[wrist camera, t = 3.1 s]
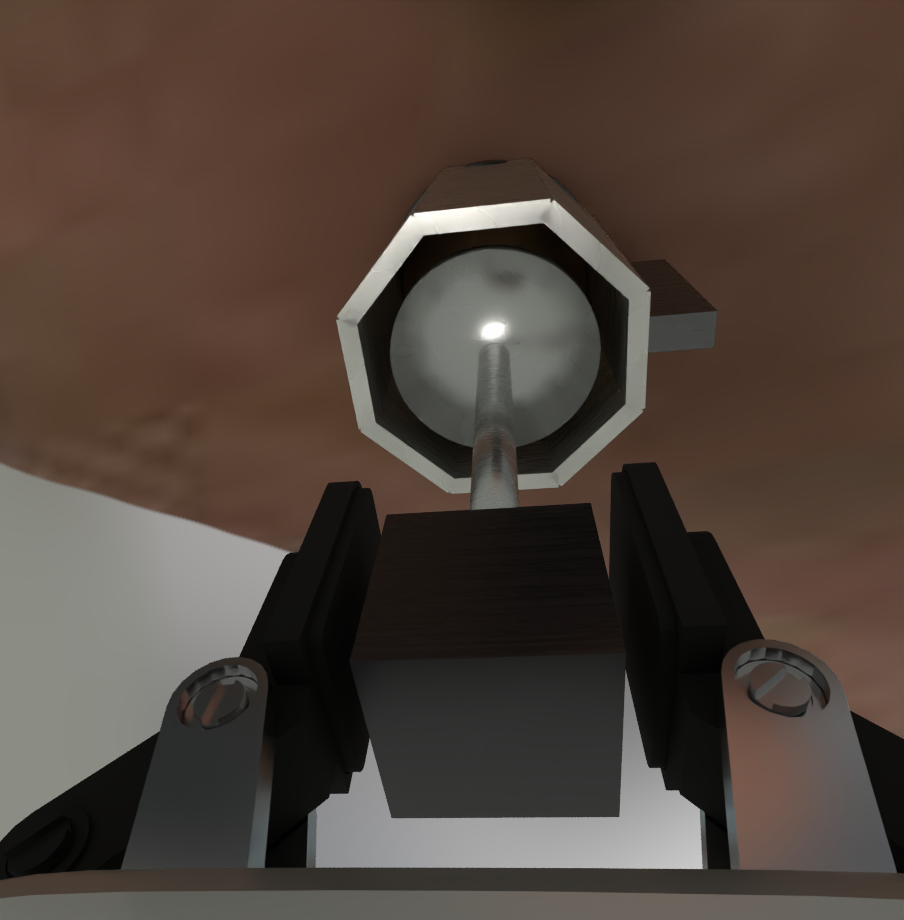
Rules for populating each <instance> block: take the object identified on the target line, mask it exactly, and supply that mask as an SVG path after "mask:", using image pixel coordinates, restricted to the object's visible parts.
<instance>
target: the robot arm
mask: <svg viewBox="0 0 904 920" xmlns="http://www.w3.org/2000/svg"><path fill="white" fill-rule="evenodd" d="M380 539H381V533H380V529H379V524H378V519H377V514H376V509H375V504H374V499H373V495H372V491H371V489H370V488H362V486H361V484H360V482H359V481H349V482H334V483H328V485H327V487H326V489H325V491H324V494H323V496H322V498H321V501H320V503H319V505H318V508H317V510H316V512H315V515H314V517H313V520H312V522H311V524H310V527H309V529H308V531H307V534H306V536H305V538H304V541H303V543H302V545H301V548H300V550H299V552H296V553H289V554H287V555H286V556H285V558H284V559H283V561H282V563H281V565H280V567H279V570H278V572H277V574H276V576H275V579H274V581H273V583H272V585H271V588H270V590H269V592H268V594H267V597H266V599H265V601H264V603H263V605H262V608H261V610H260V612H259V614H258V616H257V619H256V621H255V623H254V625H253V627H252V630H251V632H250V634H249V636H248V639H247V641H246V643H245V645H244V647H243V650H242V652H241V654H240V656H239V657H233V658H224V659H221V660H218V661H214V662H211V663H209V664H207V665H205V666H203V667H201V668H200V669H198V670H196V671H195V672H193V673H192V674H191V675H190V676H188V677H187V678H186V679H185V680H183V681H182V682H181V684H180V685H179V686H178V687H177V689H176V690H175V691H174V692H173V694H172V696H171V698H170V700H169V703H168V705H167V707H166V711H165V714H164V717H163V721H162V725H161V728H160V731H159V732H158V733H156V734H155V735H153V736H152V737H150V738H148V739H147V740H145V741H144V742H142V743H141V744H139V745H137V746H136V747H134V748H133V749H131V750H130V751H128V752H127V753H125V754H123V755H122V756H120V757H119V758H117V759H116V760H114V761H113V762H111V763H109V764H108V765H106V766H105V767H103V768H102V769H100V770H99V771H97V772H96V773H94V774H92V775H91V776H89V777H87V778H86V779H84V780H83V781H81V782H80V783H78V784H77V785H75V786H73V787H72V788H70V789H69V790H67V791H66V792H64V793H62V794H61V795H59V796H58V797H56V798H55V799H53V800H52V801H50V802H49V803H47V804H45V805H44V806H42V807H41V808H39V809H37V810H36V811H34V812H33V813H31V814H30V815H29V816H28V817H26V818H25V819H24V820H23V821H21V822H20V823H18V824H17V825H16V826H15V827H14V828H13V829H12V830H11V831H10V832H9V833H8V834H7V835H6V836H5V837H4V838H3V839H2V840H1V842H0V920H904V739H902V738H900V737H899V736H897V735H895V734H893V733H891V732H889V731H887V730H885V729H884V728H882V727H880V726H878V725H876V724H874V723H872V722H870V721H869V720H867V719H865V718H863V717H861V716H859V715H857V714H855V713H854V712H852V711H850V710H849V706H848V703H847V699H846V696H845V692H844V689H843V687H842V685H841V683H840V681H839V679H838V677H837V675H836V674H835V673H834V672H833V671H832V670H831V669H830V667H829V666H828V665H827V664H826V663H825V662H824V661H822V660H821V659H819V658H818V657H816V656H815V655H813V654H812V653H811V652H809V651H807V650H805V649H802V648H800V647H798V646H795V645H793V644H790V643H786V642H781V641H777V640H765V639H764V637H763V635H762V633H761V631H760V629H759V627H758V625H757V623H756V621H755V619H754V617H753V615H752V613H751V611H750V609H749V607H748V605H747V603H746V601H745V599H744V597H743V595H742V593H741V591H740V589H739V587H738V585H737V583H736V581H735V579H734V577H733V575H732V573H731V571H730V569H729V566H728V564H727V562H726V560H725V558H724V556H723V554H722V552H721V550H720V548H719V546H718V544H717V542H716V540H715V538H714V537H713V535H712V534H711V533H710V532H708V531H704V532H686V529H685V527H684V525H683V522H682V520H681V518H680V516H679V513H678V511H677V509H676V507H675V504H674V502H673V500H672V497H671V495H670V493H669V491H668V488H667V486H666V484H665V482H664V479H663V477H662V475H661V472H660V470H659V468H658V466H657V464H656V463H655V462H650V463H634V464H624V465H623V468H622V472H617V473H612V476H611V515H610V562H609V583H610V587H611V591H612V596H613V600H614V604H615V608H616V613H617V617H618V621H619V625H620V630H621V634H622V638H623V642H624V646H625V651H626V667H625V669H626V673H627V677H628V681H629V686H630V690H631V695H632V699H633V703H634V708H635V712H636V717H637V721H638V725H639V730H640V734H641V738H642V742H643V747H644V752H645V756H646V760H647V764H648V766H649V767H650V768H661V771H662V776H663V779H664V783H665V787H666V790H679V792H680V794H681V795H682V796H683V797H685V798H686V799H688V800H689V801H690V802H691V803H693V804H694V805H695V806H697V807H698V808H700V822H701V842H702V864H703V869H609V868H608V869H607V868H605V869H604V868H316V867H315V866H316V863H315V862H316V826H317V824H316V823H317V821H316V820H317V814H316V808H317V807H318V806H319V805H320V804H322V803H323V802H324V801H325V800H326V799H328V798H329V795H330V794H341V793H342V794H347V793H349V788H350V783H351V778H352V773H353V772H361V771H362V770H363V767H364V764H365V759H366V754H367V748H368V743H369V738H370V736H369V733H368V729H367V725H366V722H365V718H364V714H363V711H362V707H361V703H360V699H359V696H358V692H357V688H356V685H355V681H354V677H353V674H352V670H351V666H350V663H349V661H350V657H351V653H352V650H353V646H354V642H355V638H356V634H357V630H358V626H359V622H360V618H361V614H362V610H363V606H364V602H365V598H366V594H367V590H368V586H369V583H370V579H371V575H372V571H373V567H374V563H375V559H376V555H377V551H378V547H379V543H380Z"/></svg>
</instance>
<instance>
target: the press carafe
mask: <svg viewBox="0 0 904 920" xmlns="http://www.w3.org/2000/svg"><path fill="white" fill-rule="evenodd" d="M497 244H502V245H511V246H517V247H521V248H526V249H529V250H532V251H534V252H537V253H539V254H542V255H544V256H545V257H547V258H549V259H551V260H552V261H554V262H555V263H557V264H558V265H559V266H561V267H562V268H563V269H565V270H566V271H567V272H568V273H569V274H570V275H571V276H572V277H573V278H574V280H575V281H576V282H577V284H578V285H579V286H580V288H581V289H582V290H583V292H584V294H585V296H586V298H587V300H588V302H589V304H590V306H591V308H592V310H593V313H594V316H595V318H596V321H597V325H598V330H599V335H600V347H601V351H600V363H599V367H598V372H597V376H596V379H595V381H594V384H593V387H592V389H591V391H590V393H589V395H588V397H587V398H586V400H585V401H584V403H583V404H582V406H581V407H580V408H579V410H578V411H577V412H576V413H575V414H574V415H573V416H572V417H571V419H570V420H568V421H567V422H566V423H565V424H564V425H563V426H561V427H560V428H559V429H557V430H556V431H554V432H553V433H551V434H550V435H548V436H546V437H544V438H542V439H540V440H537V441H535V442H532V443H529V444H527V445H523V446H518V447H516V461H517V477H518V490H522V489H539V488H556V487H559V485H561V486H562V485H563V484H564V483H566V482H567V481H568V480H569V479H570V478H571V477H572V476H573V475H574V474H575V473H576V472H578V471H579V470H580V469H581V468H582V467H583V466H584V465H585V464H586V463H587V462H589V461H590V460H591V459H592V458H593V457H594V456H595V455H596V454H597V453H598V452H600V451H601V450H602V449H603V448H604V447H605V446H606V445H607V444H608V443H609V442H611V441H612V440H613V439H614V438H615V437H616V436H617V435H618V434H619V433H620V432H621V431H623V430H624V429H625V428H626V427H627V426H628V425H629V424H630V423H631V422H632V421H634V420H635V419H636V418H637V417H638V416H639V415H640V414H641V413H642V412H643V409H645V399H646V378H647V358H648V353H653V352H665V351H678V350H690V349H702V348H714V340H715V330H716V321H717V310H716V309H715V308H714V307H713V306H712V305H711V304H710V303H709V302H708V301H707V300H706V299H705V298H704V297H703V296H702V295H701V294H700V293H699V292H698V291H697V290H695V289H694V288H693V287H692V286H691V285H690V284H689V283H688V282H687V281H686V280H685V279H684V278H683V277H682V276H681V275H680V274H679V273H678V272H677V271H676V270H675V269H674V268H673V267H672V266H671V265H670V264H669V263H668V262H667V261H666V260H665V259H664V260H653V261H643V262H632V263H629V262H628V261H627V259H626V258H625V257H624V255H623V254H622V253H621V252H620V250H619V249H618V248H617V247H616V245H615V244H614V243H613V242H612V240H611V239H610V238H609V237H608V235H607V234H606V233H605V232H604V230H603V229H602V228H601V227H600V225H599V224H598V223H597V222H596V220H595V219H594V218H593V217H592V216H591V215H590V214H589V213H588V212H587V211H586V210H585V209H584V208H583V207H582V206H581V205H580V204H579V203H578V202H577V201H576V200H575V198H574V197H573V196H572V195H571V194H570V193H569V191H568V190H567V189H566V188H565V187H564V186H563V185H562V184H560V183H559V182H558V181H557V180H555V179H554V178H553V177H551V176H550V175H548V174H546V173H545V172H544V171H543V170H542V169H541V168H540V167H539V166H538V165H537V164H536V163H535V162H534V161H533V160H532V159H531V160H529V158H527V159H518V160H509V161H505V160H489V161H481V162H476V163H471V164H468V165H465V166H457V167H448V168H444V169H443V170H441V171H440V173H439V174H438V175H437V177H436V178H435V179H434V181H433V182H432V184H431V185H430V186H429V188H427V189H426V190H425V191H424V192H423V193H422V195H421V196H420V197H419V198H418V199H417V201H416V202H415V203H414V204H413V206H412V208H411V209H410V211H409V212H408V214H407V216H406V217H405V219H404V221H403V224H402V225H401V226H400V228H399V229H398V230H397V232H396V233H395V235H394V236H393V237H392V239H391V240H390V242H389V243H388V244H387V246H386V247H385V249H384V250H383V252H382V253H381V254H380V256H379V257H378V259H377V260H376V262H375V263H374V264H373V266H372V267H371V269H370V270H369V272H368V273H367V274H366V276H365V277H364V279H363V280H362V282H361V283H360V284H359V286H358V287H357V289H356V290H355V292H354V293H353V294H352V296H351V297H350V299H349V300H348V302H347V303H346V304H345V306H344V307H343V309H342V310H341V312H340V313H339V314H338V316H337V317H338V318H337V320H336V321H337V326H338V331H339V336H340V340H341V345H342V350H343V355H344V360H345V365H346V370H347V374H348V379H349V384H350V389H351V394H352V399H353V403H354V408H355V413H356V418H357V423H358V428H359V429H361V432H362V433H363V434H365V435H366V436H367V437H369V438H370V439H372V440H373V441H375V442H376V443H377V444H379V445H380V446H382V447H383V448H385V449H386V450H387V451H389V452H390V453H392V454H393V455H395V456H396V457H397V458H399V459H400V460H402V461H403V462H405V463H406V464H407V465H409V466H410V467H412V468H413V469H414V470H416V471H417V472H419V473H420V474H422V475H423V476H424V477H426V478H427V479H429V480H430V481H432V482H433V483H434V484H436V485H437V486H439V487H440V488H442V489H443V490H444V491H446V492H447V493H449V491H451V494H456V493H470V492H471V475H472V457H473V447H470V446H465V445H462V444H459V443H456V442H453V441H451V440H449V439H447V438H445V437H443V436H441V435H439V434H437V433H436V432H434V431H433V430H431V429H430V428H429V427H427V426H426V425H425V424H424V423H423V422H421V421H420V420H419V419H418V418H417V416H416V415H415V414H414V413H413V412H412V411H411V410H410V408H409V407H408V405H407V404H406V403H405V401H404V399H403V397H402V396H401V394H400V392H399V390H398V387H397V385H396V382H395V380H394V376H393V371H392V367H391V358H390V343H391V336H392V330H393V326H394V323H395V320H396V317H397V314H398V312H399V310H400V307H401V305H402V303H403V301H404V299H405V297H406V295H407V294H408V292H409V291H410V289H411V288H412V286H413V285H414V283H415V282H416V281H417V280H418V279H419V278H420V277H421V276H422V274H424V273H425V272H426V271H427V270H428V269H429V268H431V267H432V266H433V265H434V264H436V263H437V262H439V261H441V260H442V259H444V258H445V257H447V256H450V255H452V254H454V253H456V252H458V251H461V250H465V249H468V248H471V247H476V246H482V245H497Z"/></svg>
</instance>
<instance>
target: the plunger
mask: <svg viewBox="0 0 904 920" xmlns="http://www.w3.org/2000/svg"><path fill="white" fill-rule="evenodd" d="M600 351H601V347H600V335H599V330H598V325H597V321H596V318H595V316H594V313H593V310H592V308H591V306H590V304H589V302H588V300H587V298H586V296H585V294H584V292H583V290H582V289H581V288H580V286H579V285H578V284H577V282H576V281H575V280H574V278H573V277H572V276H571V275H570V274H569V273H568V272H567V271H566V270H565V269H563V268H562V267H561V266H559V265H558V264H557V263H555V262H554V261H552V260H551V259H549V258H547V257H545V256H544V255H542V254H539V253H537V252H534V251H532V250H529V249H526V248H521V247H517V246H511V245H502V244H497V245H482V246H476V247H471V248H468V249H465V250H461V251H458V252H456V253H454V254H452V255H450V256H447V257H445V258H444V259H442V260H441V261H439V262H437V263H436V264H434V265H433V266H432V267H431V268H429V269H428V270H427V271H426V272H425V273H424V274H422V276H421V277H420V278H419V279H418V280H417V281H416V282H415V283H414V285H413V286H412V288H411V289H410V291H409V292H408V294H407V295H406V297H405V299H404V301H403V303H402V305H401V307H400V310H399V312H398V314H397V317H396V320H395V323H394V326H393V330H392V336H391V343H390V358H391V367H392V371H393V376H394V380H395V382H396V385H397V387H398V390H399V392H400V394H401V396H402V397H403V399H404V401H405V403H406V404H407V405H408V407H409V408H410V410H411V411H412V412H413V413H414V414H415V415H416V416H417V418H418V419H419V420H420V421H421V422H423V423H424V424H425V425H426V426H427V427H429V428H430V429H431V430H433V431H434V432H436V433H437V434H439V435H441V436H443V437H445V438H447V439H449V440H451V441H453V442H456V443H459V444H462V445H465V446H470V447H473V457H472V475H471V492H470V509H469V510H460V511H442V512H425V513H407V514H390V515H386V519H385V523H384V527H383V531H382V535H381V539H380V543H379V547H378V551H377V555H376V559H375V563H374V567H373V571H372V575H371V579H370V583H369V586H368V590H367V594H366V598H365V602H364V606H363V610H362V614H361V618H360V622H359V626H358V630H357V634H356V638H355V642H354V646H353V650H352V653H351V657H350V661H349V663H350V666H351V670H352V674H353V677H354V681H355V685H356V688H357V692H358V696H359V699H360V703H361V707H362V711H363V714H364V718H365V722H366V725H367V729H368V733H369V736H370V740H371V744H372V747H373V751H374V755H375V758H376V762H377V765H378V769H379V773H380V776H381V780H382V784H383V787H384V791H385V794H386V799H387V802H388V806H389V810H390V813H391V817H392V818H490V817H491V818H502V817H619V810H620V787H621V763H622V738H623V715H624V714H623V713H624V690H625V667H626V651H625V646H624V642H623V638H622V634H621V630H620V625H619V621H618V617H617V613H616V608H615V604H614V600H613V596H612V591H611V587H610V583H609V579H608V574H607V570H606V566H605V562H604V558H603V553H602V549H601V545H600V541H599V536H598V532H597V528H596V524H595V519H594V515H593V511H592V507H591V503H582V504H565V505H547V506H530V507H519V493H518V477H517V461H516V447H518V446H523V445H527V444H529V443H532V442H535V441H537V440H540V439H542V438H544V437H546V436H548V435H550V434H551V433H553V432H554V431H556V430H557V429H559V428H560V427H561V426H563V425H564V424H565V423H566V422H567V421H568V420H570V419H571V417H572V416H573V415H574V414H575V413H576V412H577V411H578V410H579V408H580V407H581V406H582V404H583V403H584V401H585V400H586V398H587V397H588V395H589V393H590V391H591V389H592V387H593V384H594V381H595V379H596V376H597V372H598V367H599V363H600Z"/></svg>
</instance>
